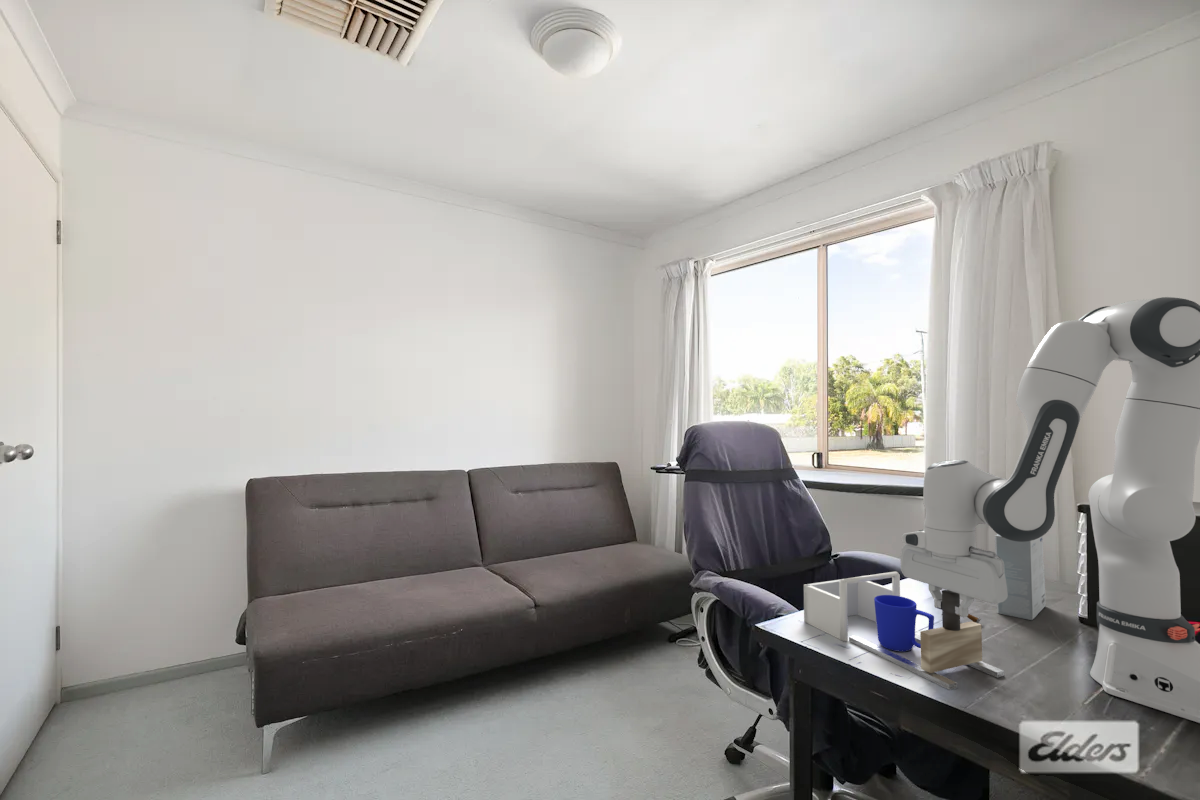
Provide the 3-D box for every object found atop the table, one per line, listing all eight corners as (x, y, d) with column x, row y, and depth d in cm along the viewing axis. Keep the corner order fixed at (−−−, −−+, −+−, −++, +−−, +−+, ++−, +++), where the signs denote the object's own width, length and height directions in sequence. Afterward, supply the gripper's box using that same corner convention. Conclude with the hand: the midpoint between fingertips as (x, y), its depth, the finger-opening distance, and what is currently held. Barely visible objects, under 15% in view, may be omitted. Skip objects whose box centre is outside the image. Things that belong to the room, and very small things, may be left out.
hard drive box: (1010, 599, 154) (1009, 526, 155) (1046, 606, 149) (1044, 530, 149) (995, 613, 144) (994, 534, 144) (1033, 621, 138) (1031, 539, 139)
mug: (923, 665, 115) (922, 615, 115) (867, 644, 125) (866, 599, 125) (943, 655, 119) (942, 607, 120) (887, 636, 129) (887, 592, 130)
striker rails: (1004, 675, 110) (1004, 670, 110) (949, 689, 104) (949, 684, 105) (898, 631, 132) (898, 627, 132) (849, 641, 127) (849, 636, 127)
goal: (902, 630, 133) (901, 572, 133) (843, 641, 127) (843, 580, 127) (858, 612, 145) (857, 558, 145) (803, 621, 139) (802, 565, 139)
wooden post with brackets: (939, 611, 143) (947, 596, 142) (973, 632, 138) (981, 617, 137) (937, 613, 142) (945, 598, 141) (971, 634, 137) (980, 619, 135)
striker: (984, 661, 113) (983, 590, 113) (932, 674, 108) (931, 599, 108) (970, 655, 116) (968, 586, 116) (918, 667, 111) (917, 594, 111)
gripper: (1014, 552, 104) (1016, 628, 104) (916, 530, 123) (917, 595, 123) (991, 555, 102) (993, 633, 101) (894, 533, 121) (896, 598, 120)
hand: (951, 612), depth 112 cm, fingers closed on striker, 3 cm apart
